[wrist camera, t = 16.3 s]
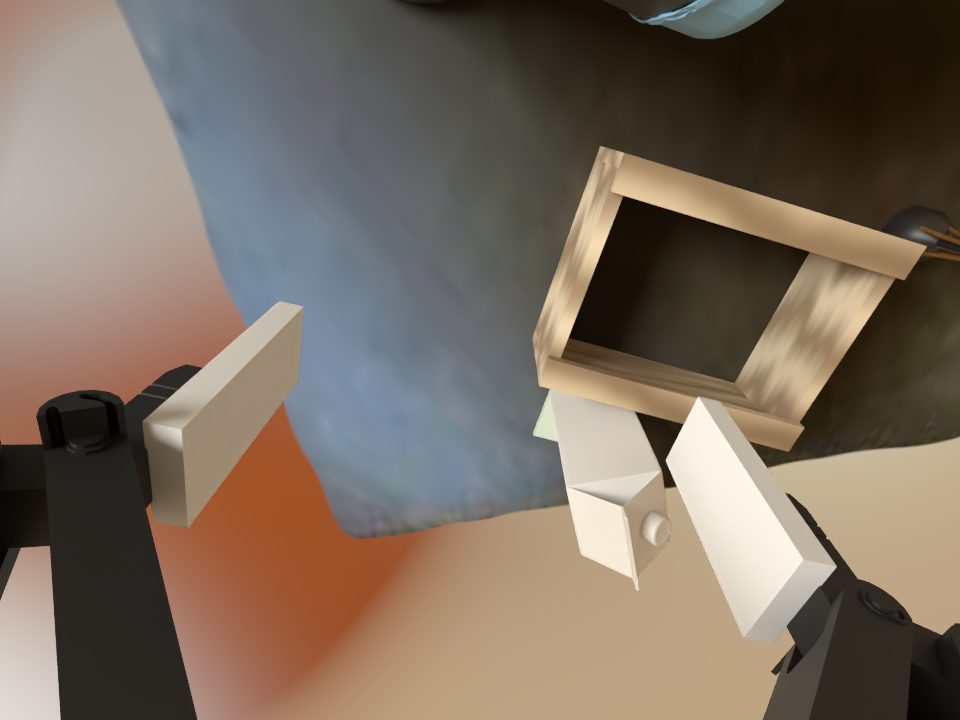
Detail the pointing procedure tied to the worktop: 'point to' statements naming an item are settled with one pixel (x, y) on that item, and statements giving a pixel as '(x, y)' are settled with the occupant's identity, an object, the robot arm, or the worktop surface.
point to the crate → (786, 340)
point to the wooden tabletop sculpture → (926, 232)
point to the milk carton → (611, 483)
